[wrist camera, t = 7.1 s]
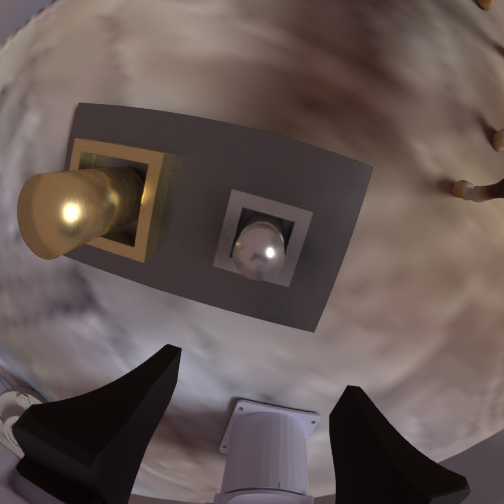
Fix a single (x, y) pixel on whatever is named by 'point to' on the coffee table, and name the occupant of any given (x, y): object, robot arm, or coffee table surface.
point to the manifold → (223, 211)
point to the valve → (15, 413)
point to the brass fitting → (76, 207)
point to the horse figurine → (500, 143)
